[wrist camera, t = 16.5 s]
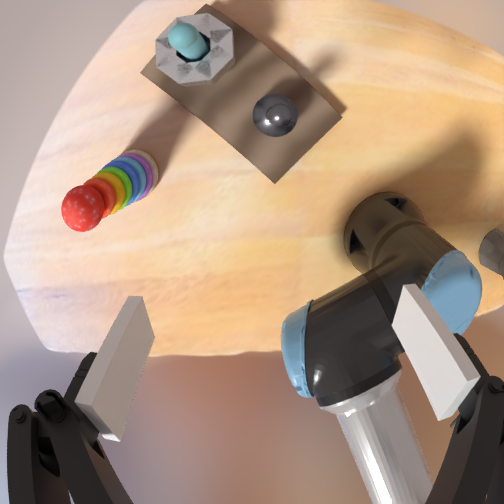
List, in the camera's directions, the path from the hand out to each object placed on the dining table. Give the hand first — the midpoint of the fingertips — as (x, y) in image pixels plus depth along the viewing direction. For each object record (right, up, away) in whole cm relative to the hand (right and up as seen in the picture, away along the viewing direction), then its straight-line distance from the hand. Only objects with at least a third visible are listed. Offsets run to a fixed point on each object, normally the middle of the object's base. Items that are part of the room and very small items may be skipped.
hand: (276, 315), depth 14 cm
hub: (-8, +29, +18) cm, 36 cm away
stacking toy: (-19, +15, +28) cm, 37 cm away
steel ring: (-8, +28, +16) cm, 33 cm away
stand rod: (+2, +22, +22) cm, 31 cm away
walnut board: (-3, +26, +22) cm, 34 cm away
